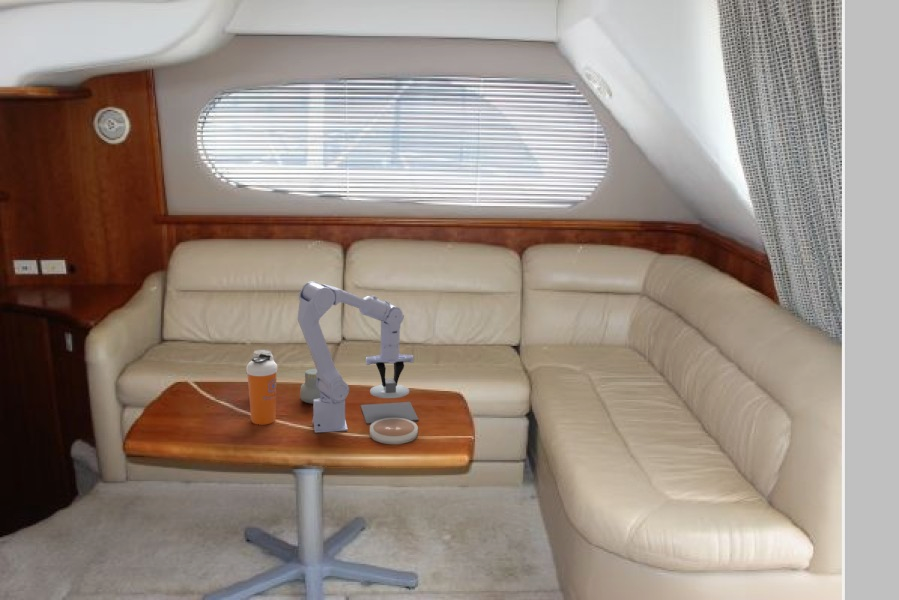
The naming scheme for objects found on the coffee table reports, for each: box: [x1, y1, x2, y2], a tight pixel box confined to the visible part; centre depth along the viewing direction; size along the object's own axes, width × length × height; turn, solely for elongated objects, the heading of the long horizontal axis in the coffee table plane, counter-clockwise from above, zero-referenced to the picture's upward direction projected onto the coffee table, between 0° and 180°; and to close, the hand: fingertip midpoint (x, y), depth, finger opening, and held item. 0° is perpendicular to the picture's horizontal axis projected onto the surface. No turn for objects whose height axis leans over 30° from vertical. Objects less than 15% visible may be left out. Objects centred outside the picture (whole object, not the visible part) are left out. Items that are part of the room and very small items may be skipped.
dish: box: [369, 418, 419, 445], centre depth 212 cm, size 14×14×2 cm
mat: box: [360, 401, 420, 425], centre depth 227 cm, size 16×14×1 cm
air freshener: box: [299, 368, 320, 405], centre depth 233 cm, size 11×8×10 cm
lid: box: [369, 377, 410, 399], centre depth 224 cm, size 12×12×4 cm
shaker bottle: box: [245, 354, 278, 426], centre depth 216 cm, size 9×9×20 cm
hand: (389, 385), depth 224 cm, fingers closed on lid, 3 cm apart
